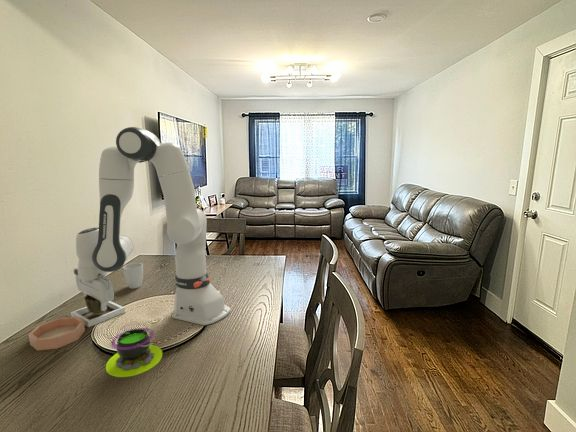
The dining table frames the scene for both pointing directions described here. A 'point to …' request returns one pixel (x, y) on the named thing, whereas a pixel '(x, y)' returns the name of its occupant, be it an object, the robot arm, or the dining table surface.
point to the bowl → (56, 333)
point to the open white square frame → (89, 323)
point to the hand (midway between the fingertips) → (97, 306)
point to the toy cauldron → (133, 353)
